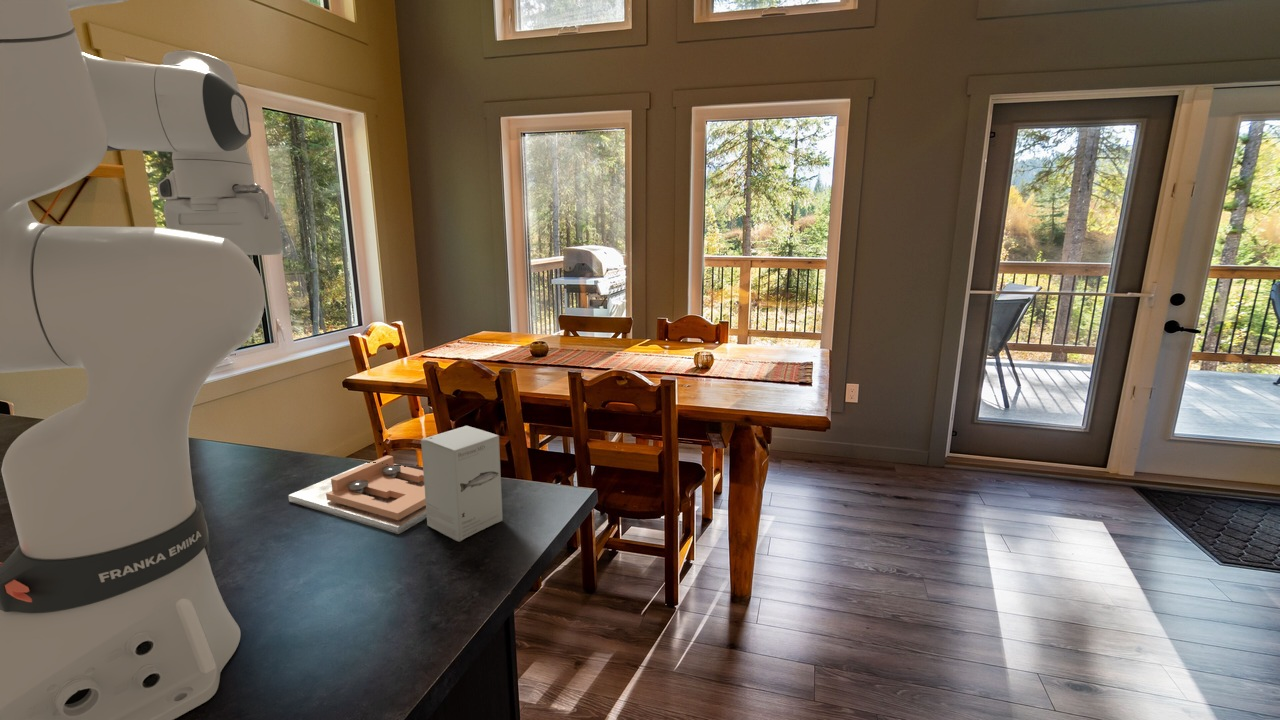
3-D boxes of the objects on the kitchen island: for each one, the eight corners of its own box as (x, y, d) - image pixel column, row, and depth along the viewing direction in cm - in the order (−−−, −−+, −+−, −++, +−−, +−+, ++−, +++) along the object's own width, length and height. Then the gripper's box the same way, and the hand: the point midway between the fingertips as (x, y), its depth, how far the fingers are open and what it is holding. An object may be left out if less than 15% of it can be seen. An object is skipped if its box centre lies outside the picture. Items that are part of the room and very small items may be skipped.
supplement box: (459, 544, 72) (452, 450, 70) (425, 526, 77) (418, 437, 74) (505, 521, 78) (500, 434, 76) (471, 506, 83) (466, 423, 80)
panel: (398, 520, 76) (396, 500, 75) (326, 499, 81) (324, 481, 81) (461, 485, 86) (460, 468, 86) (394, 469, 92) (392, 453, 91)
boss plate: (398, 534, 75) (396, 511, 74) (289, 501, 84) (286, 481, 83) (471, 491, 87) (470, 472, 86) (369, 467, 96) (367, 449, 95)
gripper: (288, 185, 77) (301, 287, 80) (199, 189, 85) (213, 282, 88) (239, 181, 71) (255, 291, 74) (149, 186, 80) (166, 285, 82)
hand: (231, 286), depth 81 cm, fingers closed
